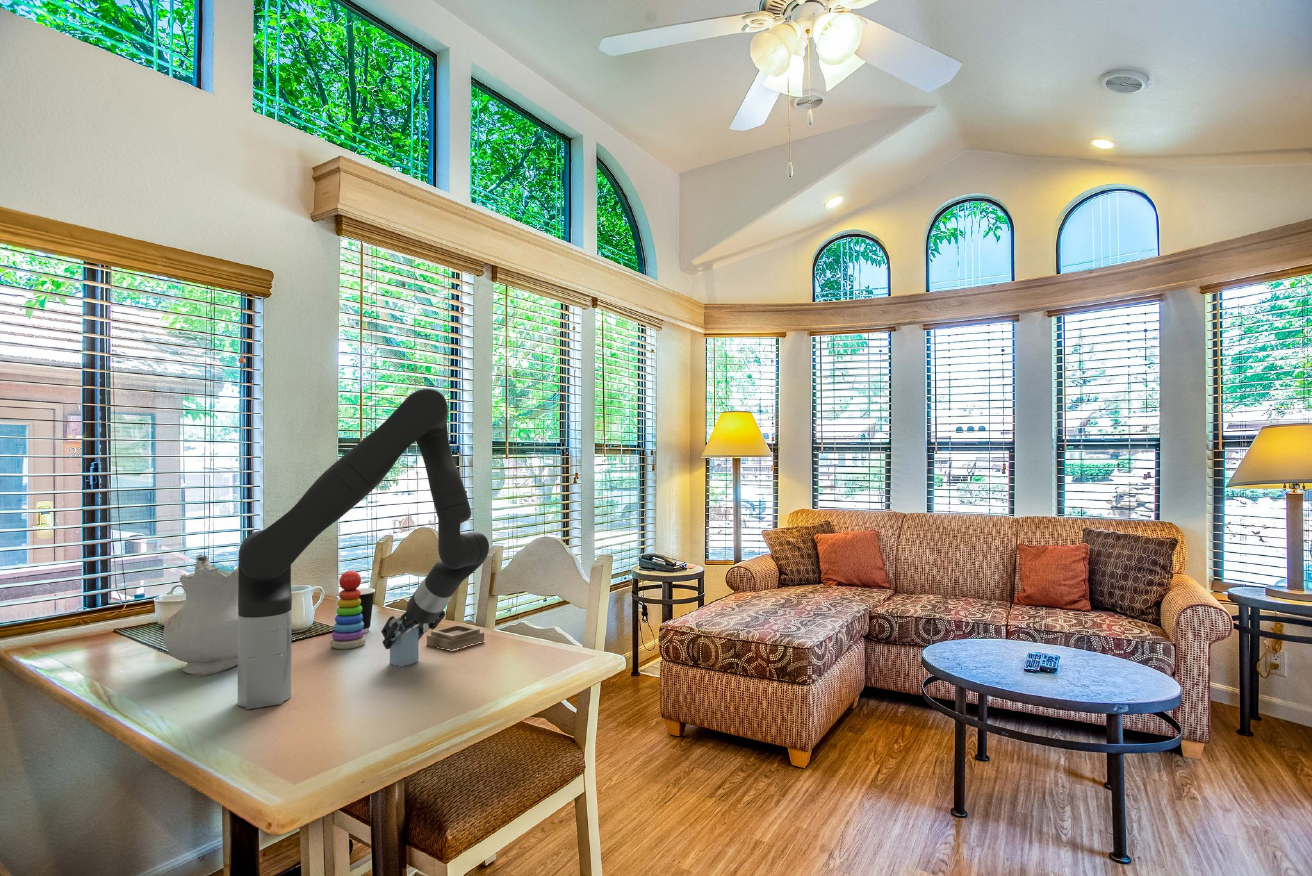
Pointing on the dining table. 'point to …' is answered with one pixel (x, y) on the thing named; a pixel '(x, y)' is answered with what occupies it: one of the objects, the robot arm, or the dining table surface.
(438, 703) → the dining table surface
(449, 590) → the robot arm
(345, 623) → the stacking toy
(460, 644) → the walnut socket base
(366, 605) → the dixie cup
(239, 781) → the dining table surface
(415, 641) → the slate-blue pillar
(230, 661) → the ceramic pitcher
